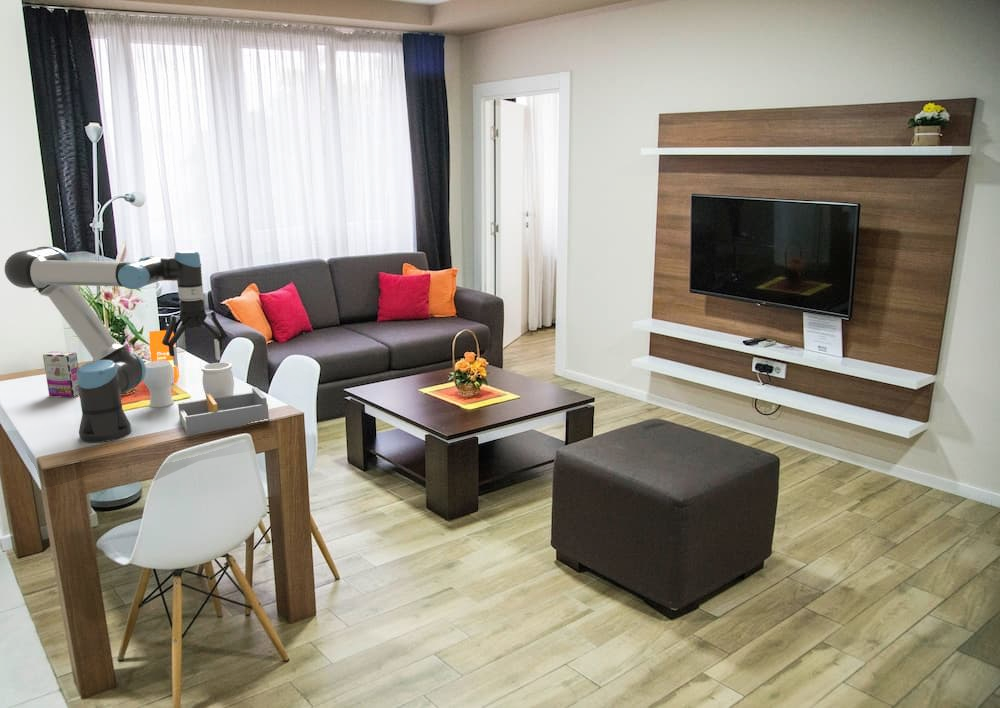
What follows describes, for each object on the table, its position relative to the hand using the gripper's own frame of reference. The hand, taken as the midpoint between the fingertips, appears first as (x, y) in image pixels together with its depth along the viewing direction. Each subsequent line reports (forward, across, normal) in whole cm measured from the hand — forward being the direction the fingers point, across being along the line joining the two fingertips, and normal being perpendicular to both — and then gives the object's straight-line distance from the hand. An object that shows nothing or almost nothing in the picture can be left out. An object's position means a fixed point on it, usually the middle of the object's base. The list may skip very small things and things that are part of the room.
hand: (197, 362), depth 268 cm
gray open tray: (+21, +6, -3) cm, 22 cm away
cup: (+22, -6, +29) cm, 37 cm away
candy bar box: (+22, -33, +63) cm, 75 cm away
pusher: (+19, +4, -3) cm, 20 cm away
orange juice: (+22, +3, +62) cm, 66 cm away
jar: (+21, +10, +14) cm, 27 cm away
